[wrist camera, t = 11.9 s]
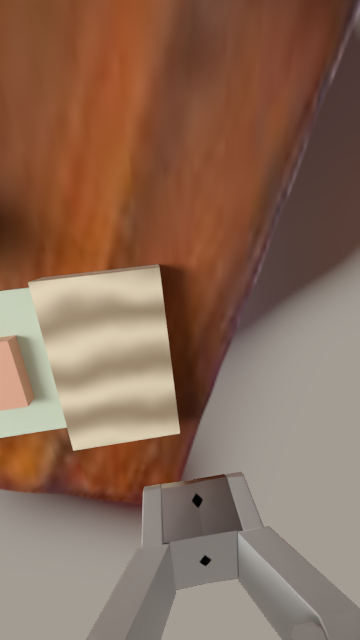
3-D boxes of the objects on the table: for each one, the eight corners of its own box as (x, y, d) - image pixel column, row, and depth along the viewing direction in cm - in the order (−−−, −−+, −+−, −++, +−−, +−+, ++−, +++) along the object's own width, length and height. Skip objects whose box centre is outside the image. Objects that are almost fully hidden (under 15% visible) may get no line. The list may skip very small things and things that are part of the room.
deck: (42, 277, 32) (27, 282, 28) (158, 264, 33) (159, 267, 29) (80, 429, 39) (73, 450, 35) (177, 414, 40) (180, 433, 36)
